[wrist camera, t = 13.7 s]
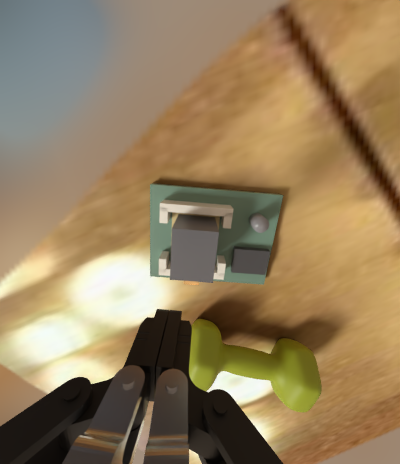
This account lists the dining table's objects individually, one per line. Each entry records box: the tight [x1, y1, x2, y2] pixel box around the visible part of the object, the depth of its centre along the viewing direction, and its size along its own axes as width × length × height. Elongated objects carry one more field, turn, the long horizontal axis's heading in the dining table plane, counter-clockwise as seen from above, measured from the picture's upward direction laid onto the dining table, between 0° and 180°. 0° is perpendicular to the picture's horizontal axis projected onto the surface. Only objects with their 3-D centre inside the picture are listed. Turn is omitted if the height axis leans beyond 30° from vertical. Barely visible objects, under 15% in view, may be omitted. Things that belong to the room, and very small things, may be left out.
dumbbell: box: [189, 319, 321, 412], centre depth 25 cm, size 16×8×7 cm, turn 74°
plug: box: [170, 214, 219, 285], centre depth 20 cm, size 4×6×5 cm
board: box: [150, 183, 283, 284], centre depth 22 cm, size 14×11×3 cm
